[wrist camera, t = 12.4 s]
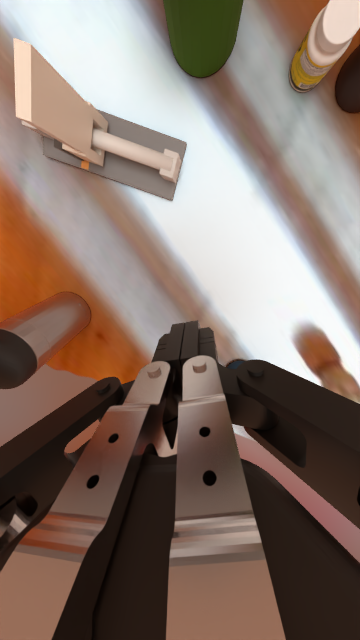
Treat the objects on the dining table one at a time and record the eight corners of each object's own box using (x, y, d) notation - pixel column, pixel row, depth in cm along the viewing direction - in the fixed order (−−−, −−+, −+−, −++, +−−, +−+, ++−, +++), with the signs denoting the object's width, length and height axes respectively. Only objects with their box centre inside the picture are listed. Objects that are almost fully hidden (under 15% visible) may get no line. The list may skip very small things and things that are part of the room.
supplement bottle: (314, 32, 27) (359, -42, 19) (332, 69, 28) (381, 13, 21) (281, 69, 29) (310, 15, 21) (299, 103, 30) (332, 62, 22)
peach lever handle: (108, 121, 31) (30, 35, 17) (103, 168, 34) (31, 128, 19) (81, 110, 31) (-22, 15, 16) (77, 159, 33) (-15, 112, 19)
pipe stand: (186, 144, 33) (183, 129, 27) (172, 200, 36) (167, 197, 31) (49, 94, 32) (17, 67, 26) (47, 156, 35) (19, 144, 30)
